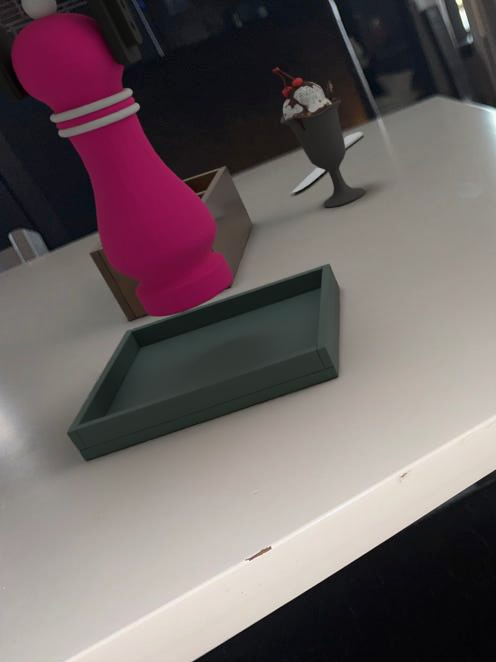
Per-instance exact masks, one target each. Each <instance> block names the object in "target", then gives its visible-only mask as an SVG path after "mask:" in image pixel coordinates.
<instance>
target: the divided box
mask: <svg viewBox="0 0 496 662" xmlns="http://www.w3.org/2000/svg"><path fill="white" fill-rule="evenodd" d="M181 180H182V181H183V182H184V183H185V184H186V185H187V186H188V187H190V188H191V189H192V190H193V191H194V192H195V193H196V194H197V195H198V197H199V198H200V199H201V200H202V201H203V203H204V204H205V205H206V206H207V208H208V210H209V211H210V213H211V215H212V216H213V218H214V220H215V223H216V236H215V239H214V243H213V246H212V252H218V253H220V254H222V255H223V256H224V258H225V260H226V262H227V264H228V266H229V268H230V270H231V272H232V274H233V280H232V282H231V284H230V285H229V286H228V287H227V288H226V289H229V288H231V287H232V285H233V282H234V280H235V276H236V274H237V270H238V268H239V265H240V262H241V259H242V256H243V254H244V250H245V248H246V244H247V242H248V239H249V236H250V233H251V231H252V227H253V221H252V219H251V217H250V215H249V213H248V211H247V209H246V206H245V204H244V202H243V200H242V197H241V196H240V193H239V190H238V188H237V186H236V184H235V181H234V180H233V178H232V175H231V173H230V171H229V168H228V166H226V165H224V166H222V167H220V168H216V169H213V170H210V171H206V172H203V173H202V174H198V175H194V176H192V177H191V176H190V177H189V178H186V179H181ZM89 256H90V257H91V259H92V261H93V263H94V264H95V267H96V268H97V270H98V271H99V273H100V275H101V276H102V278H103V279H104V281H105V283H106V285H107V287H108V288H109V290H110V293H112V295H113V297H114V299H115V300H116V302H117V304H118V306H119V307H120V309H121V311H122V313H123V315H124V316H125V317H126V319H127V321H128V322H131V321H133V320H136V319H139V318H142V317H145V316H148V315H149V314H147V312H146V311H145V309H144V307H143V305H142V304H141V302H140V300H139V298H138V297H137V295H136V288H137V286H138V285H139V283H140V282H139V281H137V280H136V279H133V278H131V277H128V276H126V275H123V274H121V273H120V272H118V271H117V270H115V269H114V268H113V267H112V266H111V264H110V263H109V261H108V259H107V256H106V254H105V252H104V250H103V248H102V244H101V240H100V239H99V241H98V242H97V243H96V244H95V246H94V247H93V248H92V249H91V251H89Z"/></svg>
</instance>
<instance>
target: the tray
mask: <svg viewBox="0 0 496 662" xmlns="http://www.w3.org/2000/svg"><path fill="white" fill-rule="evenodd" d="M340 288H341V287H340V285H339V283H338V281H337V277H336V275H335V273H334V270H333V269H332V266H331V264H330V263H326V264H323V265H319V266H318V267H314V268H311V269H308V270H305V271H302V272H299V273H296V274H292V275H290V276H287V277H284V278H281V279H278V280H275V281H272V282H269V283H266V284H263V285H260V286H257V287H254V288H251V289H248V290H245V291H242V292H239V293H235V294H233V295H230V296H226V297H224V298H221V299H218V300H215V301H212V302H209V303H206V304H202V305H199V306H197V307H194V308H192V309H189V310H187V311H184V312H181V313H177V314H174V315H169V316H166V317H164V318H161V319H157V320H155V321H152V322H149V323H146V324H143V325H140V326H137V327H134V328H132V329H128V330H126V331H125V332H124V334H123V336H122V337H121V339H120V341H119V342H118V344H117V346H116V348H115V350H114V351H113V353H112V355H111V356H110V358H109V360H108V361H107V363H106V365H105V367H104V368H103V370H102V372H101V373H100V375H99V377H98V379H97V381H96V382H95V384H94V385H93V387H92V389H91V390H90V392H89V393H88V395H87V397H86V399H85V401H84V402H83V404H82V406H81V407H80V409H79V411H78V413H77V414H76V416H75V417H74V419H73V421H72V423H71V425H70V426H69V428H68V430H66V431H67V432H66V435H67V436H68V438H69V440H70V441H71V443H73V445H74V446H75V448H76V450H77V451H78V452H79V454H80V455H81V457H82V458H83V460H84V461H85V462H86V461H89V460H92V459H95V458H98V457H100V456H104V455H107V454H110V453H113V452H116V451H119V450H122V449H125V448H128V447H131V446H134V445H136V444H140V443H143V442H145V441H148V440H151V439H155V438H158V437H161V436H164V435H166V434H167V435H168V434H170V433H173V432H175V431H178V430H182V429H185V428H187V427H191V426H193V425H197V424H200V423H203V422H205V421H209V420H212V419H215V418H218V417H221V416H223V415H227V414H230V413H233V412H235V411H238V410H242V409H244V408H247V407H252V406H254V405H257V404H261V403H263V402H265V401H269V400H273V399H274V398H277V397H280V396H283V395H287V394H289V393H292V392H295V391H299V390H301V389H305V388H308V387H311V386H314V385H317V384H320V383H323V382H325V381H328V380H331V379H334V378H335V379H336V378H337V377H339V355H340V353H339V352H340V351H339V348H340V291H341V290H340Z"/></svg>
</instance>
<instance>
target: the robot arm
mask: <svg viewBox="0 0 496 662" xmlns="http://www.w3.org/2000/svg"><path fill="white" fill-rule="evenodd" d="M85 1H86V4H87V6H88V8H89V9H90V12H91V14H92V16H93V19H95V20H96V22H97V24H98V26H99V28H100V30H101V32H102V34H103V36H104V38H105V40H106V42H107V44H108V46H109V48H110V50H111V52H112V54H113V56H114V58H115V60H116V62H117V63H118V65H122V66H124V67H126V66H128V65H131V64H134V63H136V62H139V61H140V60H142V54H141V51H140V49H139V47H138V46H139V45H142V44H143V38H142V35H141V32H140V30H139V28H138V26H137V24H136V22H135V20H134V18H133V15H132V13H131V12H130V9H129V7H128V5H127V3H126V0H85ZM13 42H14V41H13V40H12V38H11V36H10V35H9V32H8V31H7V30H6V28H5V27H3V26H1V25H0V91H2V92H3V93H4V95H5V97H6V99H7V100H8V101H9V102H10V103H12V104H14V103H16V102H17V103H18V102H19V101H22V100H25V99H28V98H30V97H32V96H31V95H30V94H29V93H28V92H27V91H26V90H25V89H24V88H23V86H22V85H21V83H20V82H19V80H18V78H17V76H16V73H15V71H14V68H13V64H12V58H11V51H12V45H13Z"/></svg>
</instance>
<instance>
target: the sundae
mask: <svg viewBox="0 0 496 662" xmlns="http://www.w3.org/2000/svg"><path fill="white" fill-rule="evenodd" d="M271 72H272V73H273V74H276V75H278V76H280V78H281V79H282V81H283V85H284V89H283V90H282V94H283V97H285V98H286V99H285V100H284V103H283V105H282V106H283V107H282V114H283V115H282V117H281V118H280V123H281V124H282V125H286V126H288V127H289V128H290V129H291V130H292V132H293V134H294V135H295V137H296V139H297V141H298V142H299V144H300V146H301V147H302V150H303V152H304V153H305V156H306V157H307V158H308V160H309V161H310V162H311V164H312V165H313V166H315V167H316V168H317V167H319V168H321V169H324V170H325V172H327V173H328V174H329V176H330V179H331V181H332V186H333V192H332V194H331V195H330V196H329V197H327V199H325V200H324V201H323V203H322V204H323V206H324V207H325V208H336V207H341V206H344V205H347V204H349V203H353V202H354V201H356V200H358V199H359V198H361V197H363V195H365V193H366V189H365V188H363V187H351V186H350V185H348V183H346V181H345V180H344V177H343V176H342V175H343V174H342V173H341V170H340V167H341V164H342V162H343V160H344V159H345V155H346V152H347V151H346V149H345V144H344V139H345V137H344V135H343V131H342V127H341V123H340V118H339V112H338V108H339V105H340V104H341V103H342V101H343V100H342V98H341V97H333V84H332V80H331V79H328V82H327V85H326V90H325V92H324V90H323V88H322V87H321V86H320V85H318V84H316V83H315V82H313V81H306V80H305V81H303V78H300V77H296V78H295V77H292V76H291V75H288V74H287V73H286V72H284V71H282V70H281V69H280V68H279V67H278V66H277V67H275V68H274V69H272V71H271ZM280 73H282V74H283V75H284V76H286V77H288V78H289V79H291V80H293V81H292V82H291V84H292V86H287V84H286V83H287V82H286V80H285V78H284V77H283V75H282V74H280Z"/></svg>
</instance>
